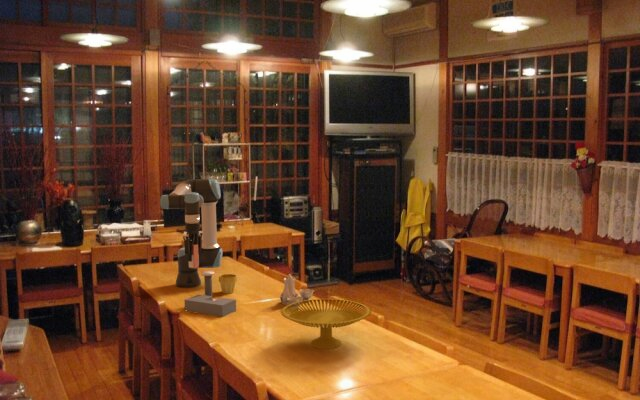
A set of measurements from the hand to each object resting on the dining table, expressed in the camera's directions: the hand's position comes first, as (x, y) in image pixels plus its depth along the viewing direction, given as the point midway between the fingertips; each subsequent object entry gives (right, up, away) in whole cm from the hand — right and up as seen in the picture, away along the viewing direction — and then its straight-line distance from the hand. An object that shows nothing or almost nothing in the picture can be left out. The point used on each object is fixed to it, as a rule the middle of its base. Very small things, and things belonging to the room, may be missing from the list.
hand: (193, 266), depth 344 cm
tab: (0, -1, 0) cm, 1 cm away
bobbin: (+6, -21, +13) cm, 26 cm away
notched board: (+9, -23, -2) cm, 25 cm away
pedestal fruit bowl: (+69, -29, -54) cm, 92 cm away
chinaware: (+53, -22, +12) cm, 58 cm away
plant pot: (+13, -19, +36) cm, 43 cm away
